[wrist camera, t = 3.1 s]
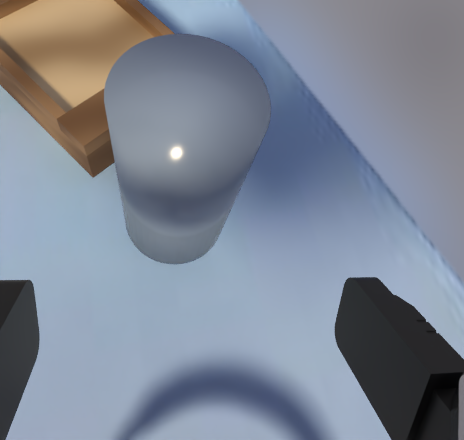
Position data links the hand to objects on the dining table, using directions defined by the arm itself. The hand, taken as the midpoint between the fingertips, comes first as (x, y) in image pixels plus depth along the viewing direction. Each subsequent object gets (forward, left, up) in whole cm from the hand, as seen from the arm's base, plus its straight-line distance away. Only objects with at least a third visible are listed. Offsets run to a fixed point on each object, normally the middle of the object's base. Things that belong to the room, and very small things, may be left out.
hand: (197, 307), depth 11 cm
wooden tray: (-10, +15, -12) cm, 21 cm away
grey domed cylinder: (-2, +7, -12) cm, 14 cm away
